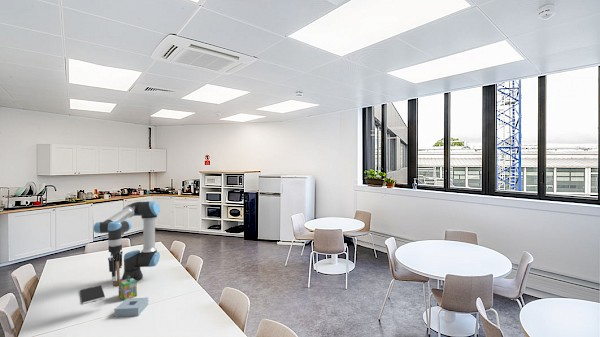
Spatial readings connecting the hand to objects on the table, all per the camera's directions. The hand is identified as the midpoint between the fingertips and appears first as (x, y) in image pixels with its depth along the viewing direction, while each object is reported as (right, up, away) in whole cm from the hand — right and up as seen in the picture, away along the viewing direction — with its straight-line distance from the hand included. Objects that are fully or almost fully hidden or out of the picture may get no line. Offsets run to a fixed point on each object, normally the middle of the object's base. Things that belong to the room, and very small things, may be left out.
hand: (116, 279), depth 189 cm
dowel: (0, -4, 0) cm, 4 cm away
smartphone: (-30, -19, +18) cm, 40 cm away
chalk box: (-1, -19, +15) cm, 24 cm away
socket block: (+14, -19, -5) cm, 24 cm away
